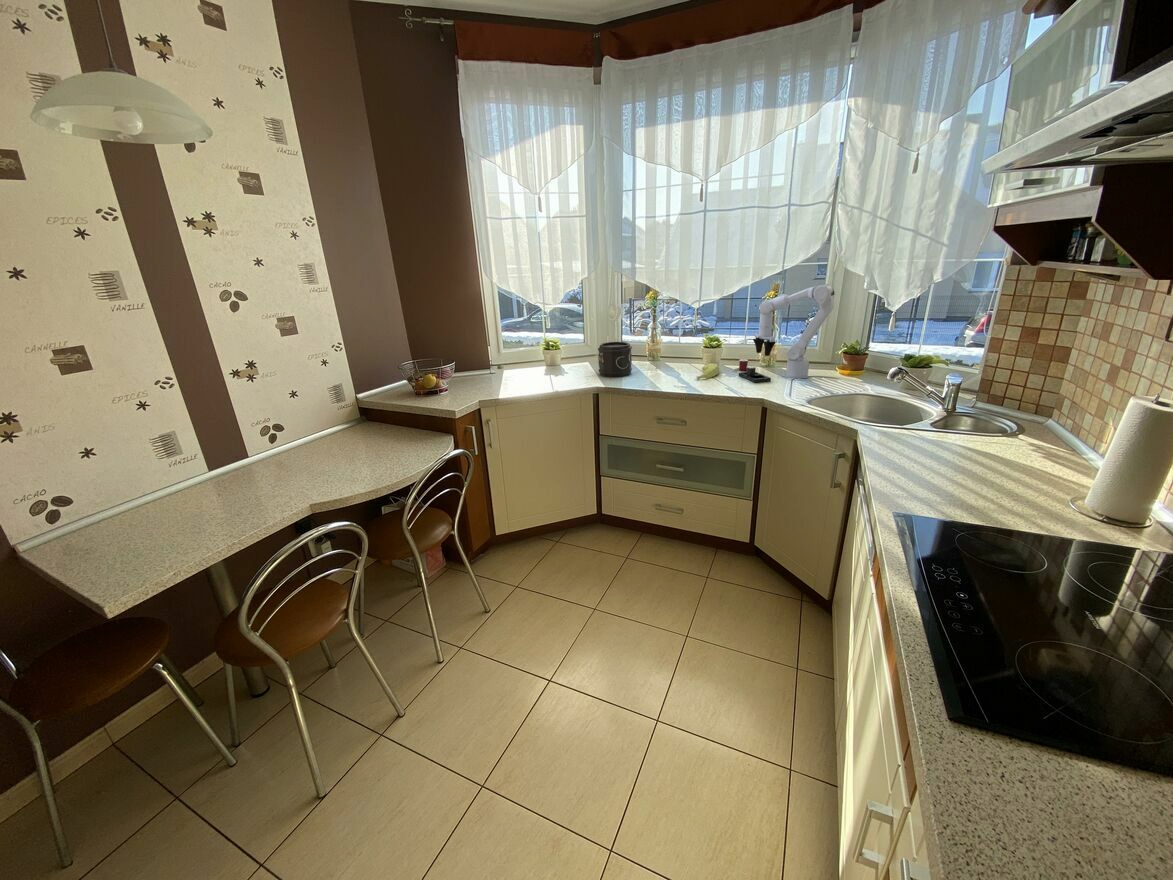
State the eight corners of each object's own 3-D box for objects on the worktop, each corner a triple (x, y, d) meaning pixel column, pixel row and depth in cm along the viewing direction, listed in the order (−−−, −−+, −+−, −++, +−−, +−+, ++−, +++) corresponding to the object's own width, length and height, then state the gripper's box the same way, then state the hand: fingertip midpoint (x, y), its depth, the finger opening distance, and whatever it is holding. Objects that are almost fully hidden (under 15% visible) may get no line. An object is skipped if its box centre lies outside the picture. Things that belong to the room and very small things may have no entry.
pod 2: (752, 375, 235) (753, 365, 233) (757, 377, 231) (757, 367, 229) (744, 376, 234) (744, 366, 232) (748, 378, 230) (749, 368, 228)
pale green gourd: (725, 359, 241) (705, 371, 229) (728, 369, 243) (708, 382, 230) (702, 362, 251) (681, 375, 239) (705, 372, 253) (684, 385, 240)
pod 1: (744, 368, 249) (745, 358, 247) (749, 370, 245) (749, 360, 243) (737, 369, 249) (737, 359, 247) (741, 371, 245) (742, 361, 243)
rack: (738, 377, 236) (738, 372, 235) (753, 375, 237) (754, 371, 236) (754, 384, 222) (754, 379, 221) (770, 382, 223) (771, 377, 222)
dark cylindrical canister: (638, 371, 257) (638, 342, 251) (622, 379, 243) (622, 348, 237) (609, 368, 266) (608, 340, 260) (592, 375, 252) (591, 346, 246)
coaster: (746, 368, 252) (746, 367, 252) (754, 371, 244) (754, 370, 244) (731, 369, 250) (731, 368, 250) (739, 373, 243) (739, 372, 242)
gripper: (750, 325, 237) (748, 352, 242) (766, 329, 224) (763, 357, 229) (763, 324, 238) (760, 351, 243) (779, 327, 225) (776, 356, 230)
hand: (763, 354), depth 236 cm, fingers open, 7 cm apart
